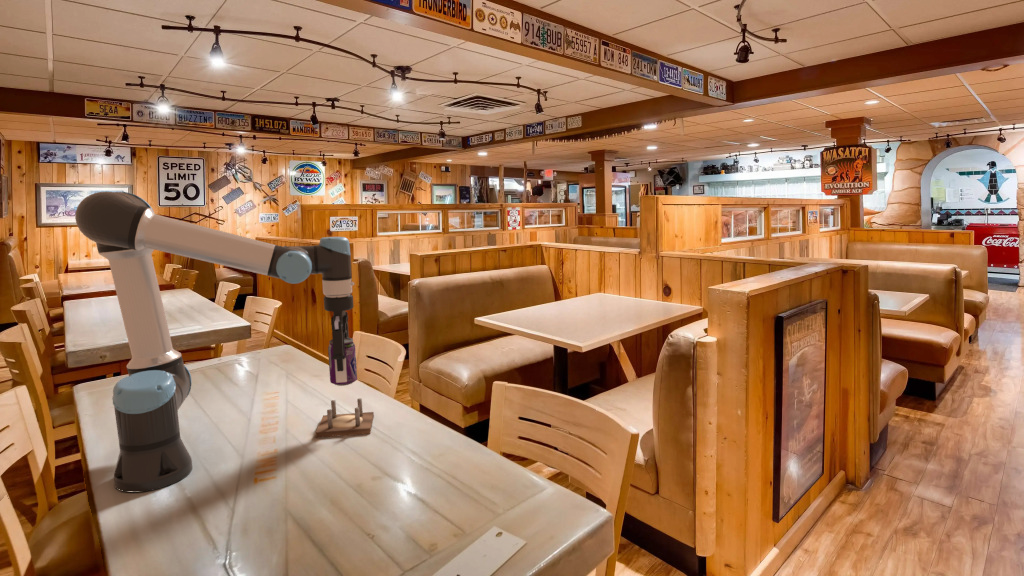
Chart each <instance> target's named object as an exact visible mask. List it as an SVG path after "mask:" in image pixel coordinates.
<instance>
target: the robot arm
mask: <svg viewBox="0 0 1024 576" xmlns="http://www.w3.org/2000/svg"><path fill="white" fill-rule="evenodd" d="M75 222H76V226H77V228H78V229H79V231H80V232H81V233H82V235H84V237H86V238H87V239H89V240H90V241H92V242H93V243H95V245H96V247H97V248H96V249H97V252H98V255H99V256H101V257H104V258H105V259H107V261H108V263H109V264H108V265H109V268H110V271H111V276H112V280H113V284H114V288H115V294H116V297H117V300H118V301H117V302H118V305H119V309H120V313H121V317H122V321H123V325H124V328H125V329H124V330H125V334H126V336H127V337H126V338H127V341H128V347H129V350H130V354H131V359H130V360H129V362H128V363H127V364H126V370H127V373H128V376H124V377H123V378H121V379H119V380H118V381H117V382H116V383H115V385H114V386H113V389H112V399H111V400H112V405H113V408H114V414H115V415H114V416H115V422H116V423H115V424H116V429H117V436H118V445H119V454H118V458H117V461H116V465H115V469H114V474H113V483H114V488H115V487H116V488H118V489H120V490H123V491H144V492H148V491H147V490H150V491H153V490H152V489H155V490H158V489H157V488H159V489H162V488H165V487H168V486H171V485H173V484H175V483H177V482H180V481H181V480H183V479H184V478H186V477H187V476H188V475H189V474H190V473H191V472H192V470H193V460H192V457H191V455H190V453H189V451H188V449H187V447H186V445H185V444H184V442H183V440H182V437H181V431H180V430H181V429H180V421H179V409H180V408H181V406H182V404H184V402H185V401H186V399H187V398H188V397H189V394H190V392H191V389H192V383H193V381H192V375H191V372H190V370H189V369H188V368H187V366H186V365H185V364H184V359H183V355H182V353H181V352H179V351H178V350H176V349H174V346H173V342H172V339H171V338H172V337H171V333H170V329H169V325H168V321H167V320H168V319H167V317H166V312H165V307H164V304H163V300H162V295H161V290H160V285H159V281H158V277H157V273H156V269H155V265H154V259H153V255H152V254H153V252H154V251H159V252H163V253H168V254H171V255H172V254H173V255H176V256H179V257H181V256H182V257H185V258H189V259H194V260H199V261H203V262H207V263H211V264H216V265H220V266H224V267H229V268H233V269H238V270H242V271H246V272H252V273H254V274H260V275H264V276H268V277H270V278H271V277H272V278H275V279H280V280H281V281H284V282H285V283H288V284H292V285H294V284H300V283H302V282H304V281H305V280H307V279H308V278H309V277H310V275H319V274H320V275H321V279H322V280H321V282H322V294H323V295H324V296H323V308H324V310H325V311H327V312H333V314H332V317H331V318H330V324H331V331H332V332H331V336H332V337H331V339H333V357H331V358H332V360H334V359H335V372H336V383H339V382H347V373H346V358H345V352H344V338H350V334H349V333H350V332H349V322H348V320H349V314H348V311H350V310H352V309H354V296H353V295H352V293H353V286H354V285H355V282H354V281H352V280H353V277H352V253H351V246H350V241H349V239H348V238H347V237H345V236H329V237H328V236H326V237H325V236H324V237H321V238H320V239H319V243H318V244H317V245H315V244H314V245H295V246H294V245H292V246H291V245H290V246H289V245H288V246H287V245H284V246H282V245H278V244H273V243H269V242H265V241H262V240H257V239H253V238H249V237H247V236H242V235H238V234H233V233H230V232H227V231H223V230H218V229H216V228H212V227H211V228H210V227H207V226H203V225H199V224H195V223H192V222H191V223H190V222H188V221H183V220H180V219H176V218H170V217H167V216H163V215H159V214H156V213H155V211H154V209H153V208H152V206H151V205H150V204H149V203H148V201H146V200H145V199H144V198H142V197H140V196H139V195H137V194H134V193H130V192H126V191H98V192H94V193H92V194H89V195H88V196H86V197H84V198H83V199H82V200H81V201H80V202H79V204H78V206H77V207H76V211H75ZM170 484H171V485H170ZM167 485H168V486H167ZM164 486H165V487H164ZM161 487H162V488H161ZM116 488H115V489H116Z"/></svg>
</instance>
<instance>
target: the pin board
mask: <svg viewBox="0 0 1024 576" xmlns="http://www.w3.org/2000/svg"><path fill="white" fill-rule="evenodd" d="M330 401H331V402H330V406H331V409H327V410H326V415H324V414H323V415H322V418H321V420H320V422H319V423H318V426H317V429H316V431H315V438H317V439H319V438H329V437H345V436H356V435H357V436H358V435H369V434H371V433H372V432H371V431H372V427H373V421H374V418H375V415H374V411H368V412H363V398H361V397H360V398H357V407H354V412H353V413H342V414H341V413H340V414H337V404H336V399H332V400H330Z"/></svg>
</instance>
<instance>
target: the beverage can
mask: <svg viewBox="0 0 1024 576" xmlns="http://www.w3.org/2000/svg"><path fill="white" fill-rule="evenodd" d="M344 352H345V358H346V373H347V382H339V383H336V372H335V359H334V360H332V358H331V357H333V338H331V339H330V340H329V344H328V347H327V353H328V366H329V367H328V368H329V382H330V384H332V385H335V386H338V387H339V386H349V385H353V383H355V382H356V381H357V380H358V370H357V355H356V353H357V352H356V345H355V343H354V339H353V338H351V337H349V338H344Z"/></svg>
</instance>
